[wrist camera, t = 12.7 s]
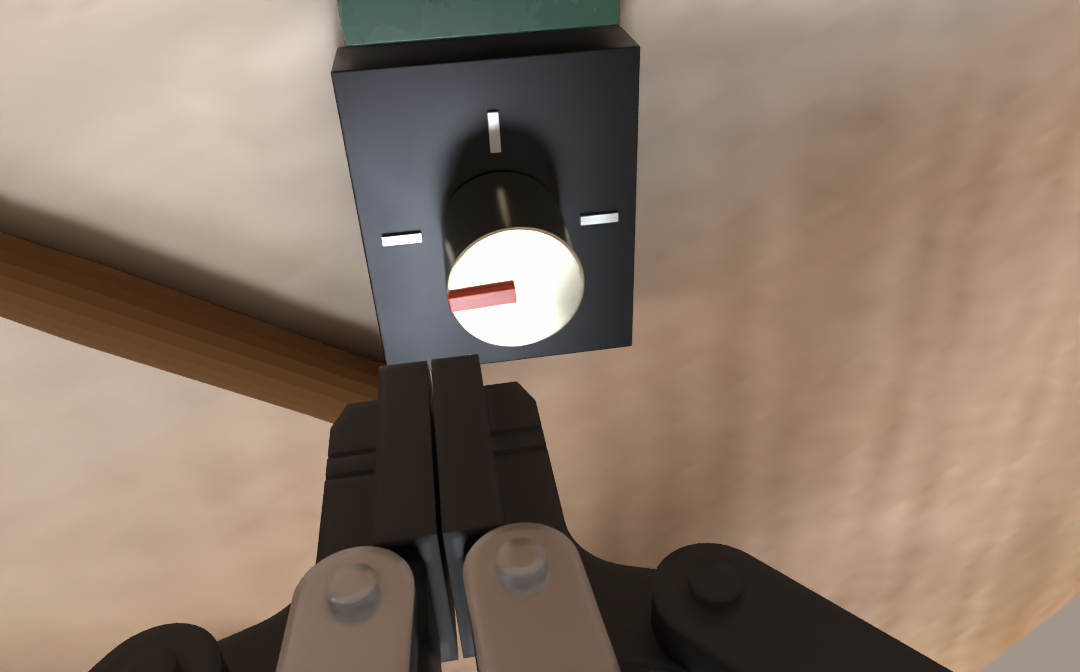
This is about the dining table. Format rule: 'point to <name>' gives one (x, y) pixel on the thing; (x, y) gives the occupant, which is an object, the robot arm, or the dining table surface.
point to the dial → (509, 261)
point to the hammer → (177, 332)
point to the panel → (492, 170)
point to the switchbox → (466, 18)
